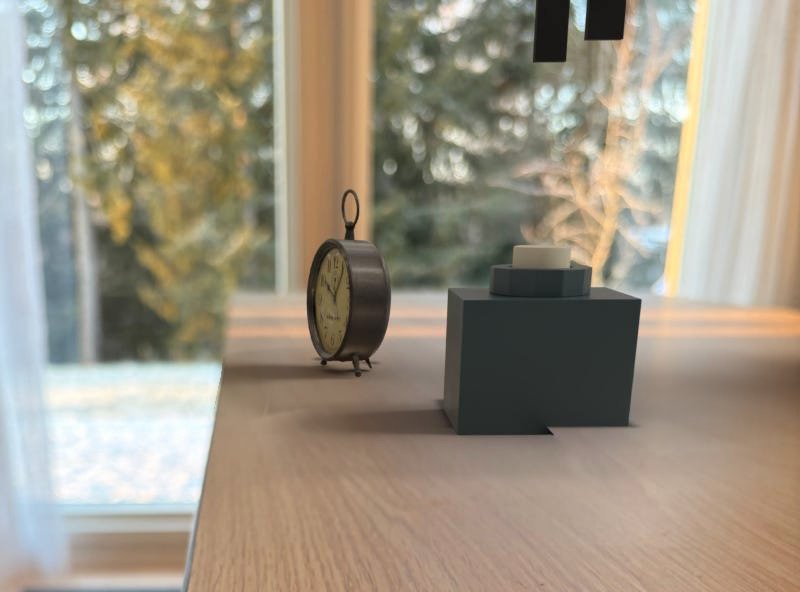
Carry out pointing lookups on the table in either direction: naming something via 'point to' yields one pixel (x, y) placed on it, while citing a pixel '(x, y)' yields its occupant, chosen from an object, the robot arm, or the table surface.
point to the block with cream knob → (539, 353)
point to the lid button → (541, 256)
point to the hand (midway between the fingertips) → (574, 52)
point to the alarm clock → (348, 297)
